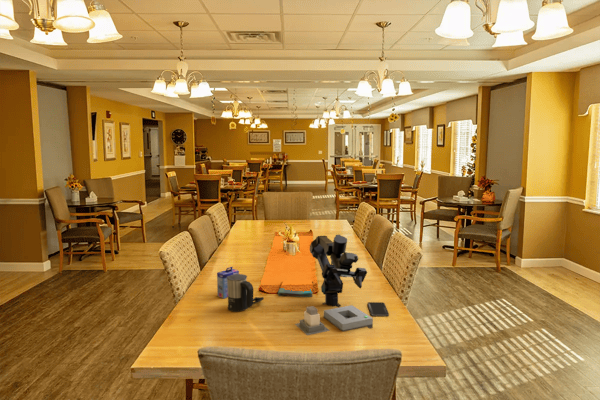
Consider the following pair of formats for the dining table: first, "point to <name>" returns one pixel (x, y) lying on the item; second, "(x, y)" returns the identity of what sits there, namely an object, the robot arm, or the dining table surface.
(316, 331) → the holster
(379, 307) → the phone
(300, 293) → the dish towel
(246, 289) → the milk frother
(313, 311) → the plug
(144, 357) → the dining table surface
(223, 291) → the ink cartridge box
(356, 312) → the port
